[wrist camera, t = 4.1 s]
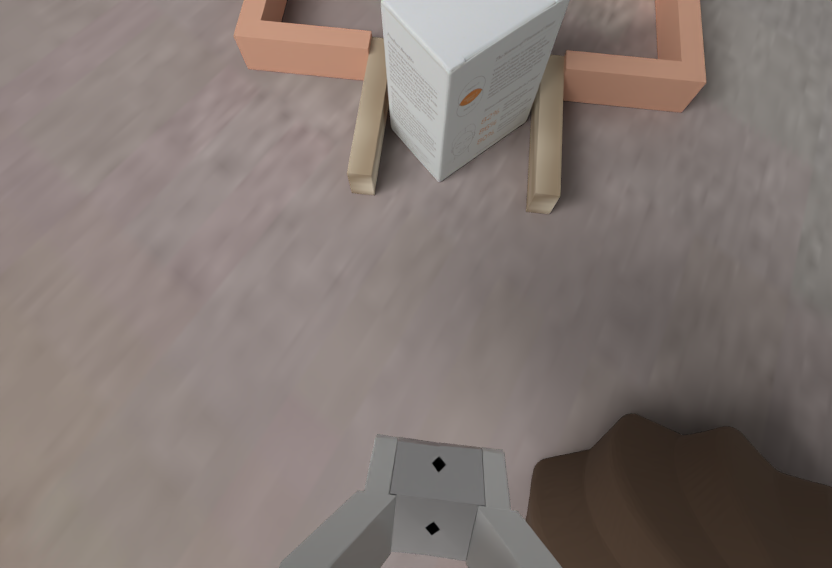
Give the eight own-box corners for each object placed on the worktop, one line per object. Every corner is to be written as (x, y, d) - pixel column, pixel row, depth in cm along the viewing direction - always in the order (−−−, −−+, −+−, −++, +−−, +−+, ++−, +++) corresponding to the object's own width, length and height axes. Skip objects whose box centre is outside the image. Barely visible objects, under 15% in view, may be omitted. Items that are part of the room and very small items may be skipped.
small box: (476, 71, 35) (502, -77, 25) (528, 123, 33) (577, -10, 23) (387, 129, 33) (376, -5, 23) (437, 186, 32) (449, 71, 22)
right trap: (553, 99, 34) (566, 68, 31) (557, -28, 38) (569, -66, 35) (681, 112, 34) (706, 82, 31) (673, -17, 37) (695, -55, 34)
